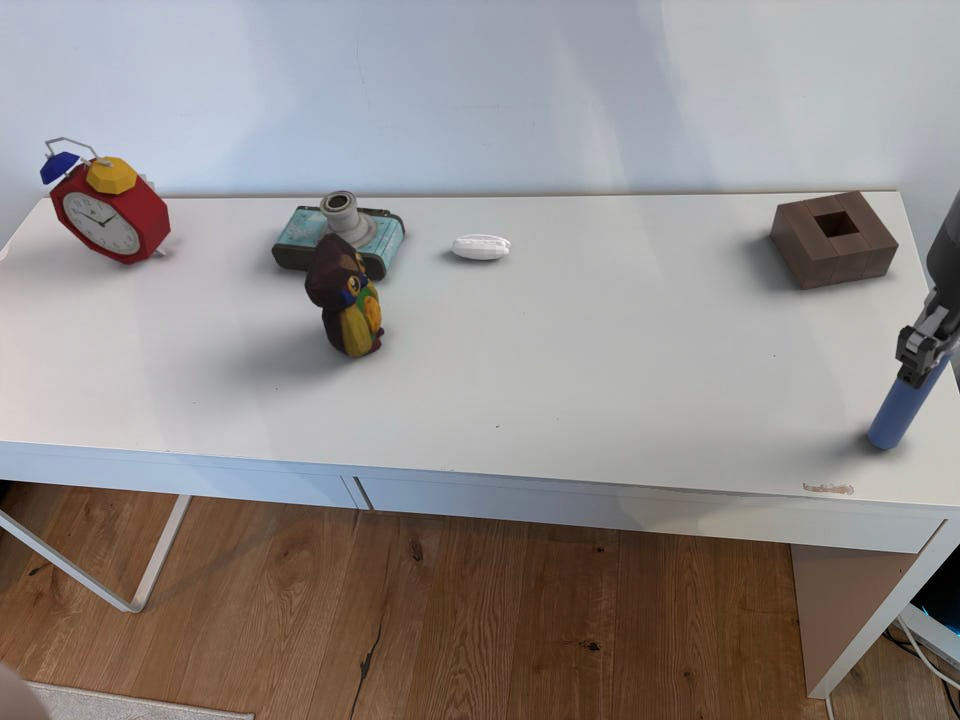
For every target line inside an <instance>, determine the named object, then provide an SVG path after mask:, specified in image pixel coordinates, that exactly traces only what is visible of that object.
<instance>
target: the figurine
mask: <svg viewBox="0 0 960 720" xmlns="http://www.w3.org/2000/svg"><path fill="white" fill-rule="evenodd" d="M364 273H365V267H364V263H363V260H362V258H361V256H360V254H359V253H358V252H357V251H356V249H355V248H354V247H352V246H351V245H350V244H349V243H348V242H346V241H345V240H344V239H342V238H341V237H340V236H338V235H337V234H336V233H335V232H334V233H330V234H326V235H325V236H324V237H323V238H322V240H321V241H320V242H319V243H318V244H317V246H316V248H315V251H314V254H313V257H312V259H311V262H310V264H309V266H308V271H306V277H305V280H304V284H303V286H304V289H305V293H306V294H307V297H308V298H309V300H310V302H311V303H312V304H313V305H315V306H316V307H317V308H321V309H322V310H321V320H322V323H323V327H324V330H325V334H326V337H327V340H328V343H329V344H330V345H331V347H333V348H334V349H335V350H336V351H337V352H339V353H341V354H342V355H344V356H346V357H349V358H351V357H352V358H355V357H356V358H359V357H362V356H364V355H368V354H369V353H373V352H376V351H379V350H380V348H381V347H382V345H383V343H382V341H381V340H380V338H381V337H383V336H384V335H385V329H384V328H383V327H382V326H381V325H382V319H383V318H382V310H381V305H380V300H379V299H380V298H379V293H378V290H377V289H376V287H375V286H374V284H373V283H372V281H371V279H369V278H368V277H367V276H366V275H365V274H364Z"/></svg>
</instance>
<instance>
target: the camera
mask: <svg viewBox="0 0 960 720" xmlns="http://www.w3.org/2000/svg"><path fill="white" fill-rule="evenodd" d="M334 232H335V233H336V234H337V235H338V236H340V237H341V238H342V239H344V240H345V241H346V242H348V243H349V244H350V245H351V246H352V247H354V248H355V249H356V251H357V252H358V253H359V254H360V256H361V258H362V260H363V263H364V267H365V273H364V274H365V275H366V276H367V277H368V279H369V280H383V279H384V278H385V277H386V275H387V273H388V270H390V266H391V265H392V262H393V260H394V258H395V256H396V254H397V252H398V249H399V248H400V245H401V243H402V241H403V239H404V237H405V235H406V229H405V224H404V222H403V219H402V217H401V216H399V215H398V214H395V213H391V211H390V210H389V209H383V208H371V207H370V208H369V207H358V199H357V197H356V194H354V193H353V192H352V191H349V190H336V191H333V192H330V193H328V194H327V195H325V196H324V197H323V198H322V199H321V200H320V202H319V206H309V205H298V206H297V207H296V209H295V210H294V212H293V213H292V215H291V216H290V218H289V220H288V221H287V223H286V225H285V226H284V228H283V229H282V231H281V233H280V235H279V236H278V237H277V239H276V241H275V242H274V244H273V246H272V248H271V249H270V250H271V251H270V252H271V254H272V256H273V258H274V261H275V263H276V264H277V265H278V266H279V267H280V268H283V269H285V270H292V271H301V272H308V266H309V264H310V262H311V259H312V257H313V254H314V251H315V248H316V246H317V244H318V243H319V242H320V241H321V240H322V238H323V237H324V236H325V235H326V234H330V233H334Z"/></svg>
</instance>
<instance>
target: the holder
mask: <svg viewBox="0 0 960 720" xmlns="http://www.w3.org/2000/svg"><path fill="white" fill-rule="evenodd" d="M769 235H770V237H771V239H772V241H773V242H774V243H775V245H776V247H777V249H778V250H779V252H780V254H781V257H783V259H784V262H785V263H786V264H787V266H788V268H789V269H790V271H791V273H792V275H793V276H794V278H795V280H796V282H797V283H798V285H799V286H800V288H801V290H808V289H814V288H815V289H816V288H819V287H825V286H831V285H836V284H842V283H847V282H848V283H849V282H853V281H858V280H865V279H871V278H876V277H883V276H886V275H887V273H888V271H889V269H890V266H891V264H892V262H893V260H894V258H895V255H896V253H897V251H898V249H899V246H900V244H899V243H898V242H897V240H896V238H894V236H893V235H892V233H891V232H890V230H889V229H888V228H887V226H886V225H885V223H884V222H883V221H882V219H880V217H879V215H878V214H877V213H876V211H875V210H874V209H873V208H872V206H871V205H870V203H869V202H868V200H867V199H866V198H865V196H864V195H863V194H862V193H861V191H860V190H853V191H847V192H841V193H836V194H835V193H834V194H831V195H825V196H820V197H819V196H818V197H813V198H808V199H807V198H806V199H803V200H796V201H791V202H785V203H779V204H777V206H776V210H775V213H774V218H773V222H772V225H771V230H770V233H769Z"/></svg>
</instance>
